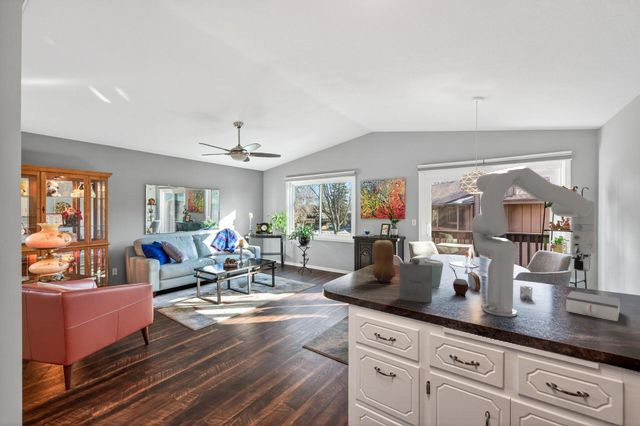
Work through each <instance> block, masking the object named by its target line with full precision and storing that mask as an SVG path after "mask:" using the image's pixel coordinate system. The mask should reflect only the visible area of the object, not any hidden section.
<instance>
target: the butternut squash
mask: <svg viewBox="0 0 640 426" xmlns="http://www.w3.org/2000/svg"><path fill="white" fill-rule="evenodd" d="M394 256H395V249H394V244H393V242H392V241H391V240H388V239H385V240H380V239H378V240H375V241H374V243H373V258H374V264H373V266H372V275H373V276H374V278H375V279H376V280H377V281H379V282H382V283H389V282H391V281H392V280H393V279H394V278H395V277H396V275H397V269H396V266H395V263H394V261H395V260H394V258H395V257H394Z"/></svg>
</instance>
